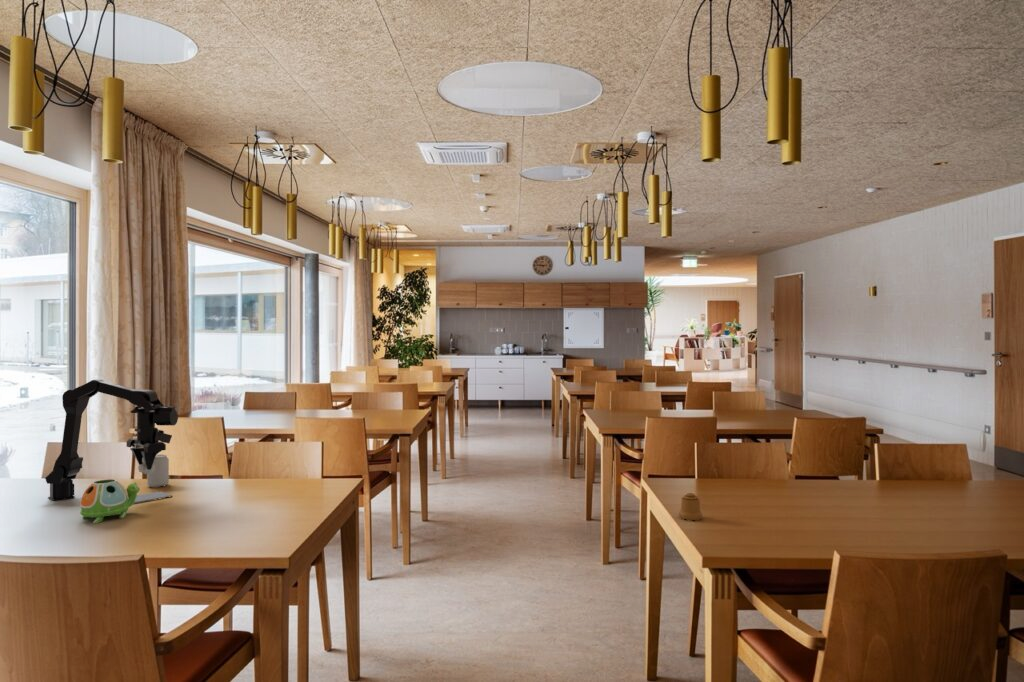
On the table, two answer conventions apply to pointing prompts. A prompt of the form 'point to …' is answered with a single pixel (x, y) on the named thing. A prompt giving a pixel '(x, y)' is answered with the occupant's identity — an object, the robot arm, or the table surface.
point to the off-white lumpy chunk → (145, 468)
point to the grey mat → (150, 496)
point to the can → (159, 472)
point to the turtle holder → (107, 499)
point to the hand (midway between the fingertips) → (145, 468)
